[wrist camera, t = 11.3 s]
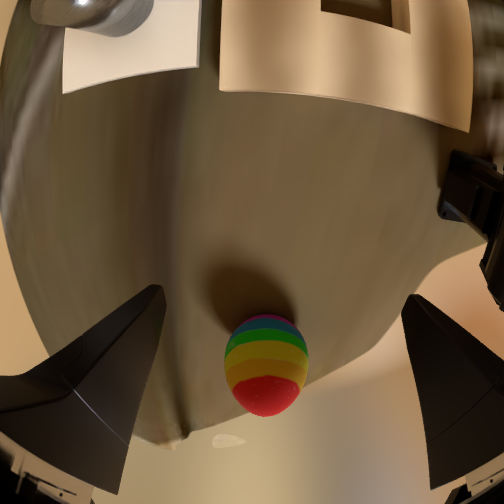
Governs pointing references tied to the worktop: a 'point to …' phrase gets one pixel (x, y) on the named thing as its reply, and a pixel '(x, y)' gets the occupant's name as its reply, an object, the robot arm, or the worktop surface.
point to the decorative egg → (266, 364)
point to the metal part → (93, 15)
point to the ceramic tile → (135, 47)
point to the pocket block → (354, 55)
